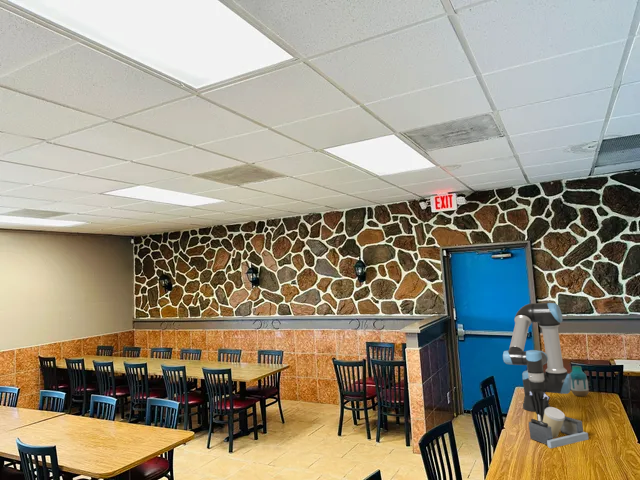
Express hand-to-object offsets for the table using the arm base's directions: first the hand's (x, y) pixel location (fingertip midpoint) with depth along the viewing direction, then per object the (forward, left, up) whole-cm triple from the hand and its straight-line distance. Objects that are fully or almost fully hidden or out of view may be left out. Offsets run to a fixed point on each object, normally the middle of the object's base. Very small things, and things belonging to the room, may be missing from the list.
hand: (542, 427), depth 225 cm
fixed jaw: (+9, +10, -3) cm, 14 cm away
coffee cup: (+4, 0, -2) cm, 4 cm away
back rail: (+16, -1, -3) cm, 16 cm away
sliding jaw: (+9, -10, -3) cm, 14 cm away
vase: (-42, +76, -3) cm, 87 cm away
